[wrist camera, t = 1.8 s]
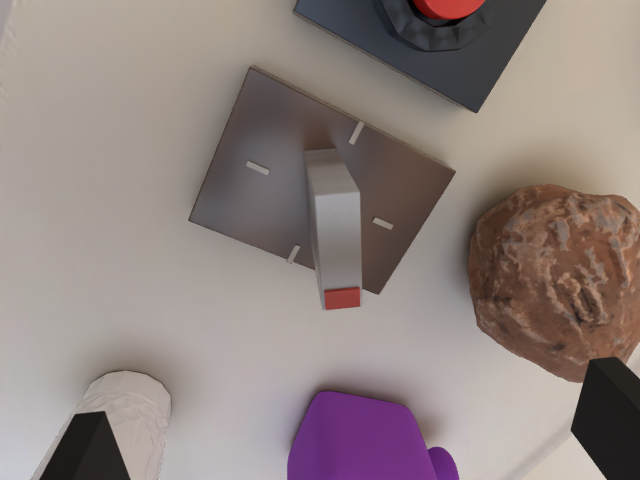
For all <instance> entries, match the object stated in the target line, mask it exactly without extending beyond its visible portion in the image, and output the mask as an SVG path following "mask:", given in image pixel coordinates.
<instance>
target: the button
mask: <svg viewBox="0 0 640 480" xmlns="http://www.w3.org/2000/svg"><path fill="white" fill-rule="evenodd" d="M484 1H485V0H413V2H414V4H415V6H416V7H417V8H418V10H419V11H420V12H421V13H422V14H424V15H425V16H427V17H429V18H431V19H435V20H449V19H458V18H462V17H465V16H467V15H469V14H471V13H473V12H474V11H475V10H477V9H478V8H479V7H480V6H481V5H482V4H483V2H484Z"/></svg>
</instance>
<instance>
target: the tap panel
mask: <svg viewBox="0 0 640 480" xmlns="http://www.w3.org/2000/svg"><path fill="white" fill-rule="evenodd" d="M333 148H336V149H337V151H338V152H339V154H340V156H341V158H342V160H343V162H344V164H345V165H346V167H347V169H348V171H349V173H350V175H351V177H352V179H353V180H354V182H355V184H356V186H357V188H358V190H359V192H360V217H361V263H362V289H365V290H367V291H370V292H372V293H375V294H377V295H379V294H380V292H381V291H382V289H383V287H384V286H385V284H386V283H387V281H388V280H389V278H390V276H391V275H392V273H393V272H394V270H395V268H396V267H397V265H398V264H399V262H400V260H401V259H402V257H403V256H404V254H405V252H406V251H407V249H408V248H409V246H410V245H411V243H412V241H413V240H414V238H415V237H416V235H417V233H418V232H419V230H420V229H421V227H422V225H423V224H424V222H425V221H426V219H427V218H428V216H429V214H430V213H431V211H432V210H433V208H434V206H435V205H436V203H437V202H438V200H439V198H440V197H441V195H442V194H443V192H444V190H445V189H446V187H447V186H448V184H449V183H450V181H451V179H452V178H453V176H454V175H455V173H456V171H455V170H453V169H452V168H451V167H449V166H448V165H447V164H445V163H444V162H442V161H440V160H438V159H436V158H434V157H432V156H430V155H428V154H426V153H424V152H422V151H420V150H418V149H416V148H414V147H412V146H410V145H408V144H406V143H404V142H402V141H400V140H398V139H397V138H395V137H393V136H391V135H389V134H387V133H385V132H383V131H381V130H379V129H377V128H375V127H373V126H371V125H369V124H367V123H365V122H363V121H361V120H359V119H357V118H355V117H353V116H351V115H349V114H347V113H346V112H344V111H342V110H340V109H338V108H336V107H334V106H332V105H330V104H328V103H326V102H324V101H322V100H320V99H318V98H316V97H314V96H312V95H310V94H308V93H306V92H304V91H302V90H300V89H298V88H297V87H295V86H293V85H291V84H289V83H287V82H285V81H283V80H281V79H279V78H277V77H275V76H273V75H271V74H269V73H267V72H265V71H263V70H261V69H259V68H257V67H255V66H253V65H251V66H250V68H249V70H248V72H247V75H246V77H245V80H244V82H243V85H242V87H241V90H240V92H239V95H238V97H237V100H236V102H235V105H234V107H233V110H232V112H231V115H230V117H229V120H228V122H227V124H226V127H225V129H224V132H223V134H222V137H221V139H220V142H219V144H218V147H217V149H216V152H215V154H214V157H213V159H212V162H211V164H210V167H209V169H208V172H207V174H206V177H205V179H204V182H203V184H202V187H201V189H200V192H199V194H198V197H197V199H196V202H195V204H194V207H193V209H192V212H191V214H190V217H189V219H188V220H189V221H190V222H193V223H196V224H198V225H201V226H203V227H206V228H208V229H211V230H213V231H216V232H219V233H221V234H224V235H226V236H229V237H231V238H234V239H237V240H239V241H242V242H244V243H247V244H249V245H252V246H254V247H257V248H260V249H262V250H265V251H267V252H270V253H272V254H275V255H278V256H280V257H283V258H285V259H287V262H288V263H290V264H292V262H295V263H298V264H301V265H303V266H306V267H308V268H311V269H313V270H315V264H314V258H313V252H312V246H311V240H310V228H309V215H308V202H307V189H306V177H305V164H304V151H309V150H321V149H333Z"/></svg>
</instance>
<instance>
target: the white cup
mask: <svg viewBox="0 0 640 480" xmlns="http://www.w3.org/2000/svg"><path fill="white" fill-rule="evenodd" d="M98 411H105V412H106V415H107V418H108V420H109V423H110V426H111V428H112V431H113V434H114V436H115V439H116V442H117V444H118V447H119V450H120V452H121V455H122V458H123V460H124V463H125V466H126V468H127V471H128V474H129V476H130V479H131V480H158V478H159V474H160V469H161V464H162V459H163V453H164V447H165V443H166V437H167V427H168V423H169V418H170V414H171V396H170V395H169V393H168V392H167V391H166V389H165V388H164V386H163V385H162V384H161V383H160V382H158V381H157V380H155V379H153V378H151V377H150V376H148V375H146V374H142V373H137V372H132V371H120V372H113V373H107V374H105V375H103V376H102V377H100V378H99V379H97V380H95V381H94V382H92V383H91V384H90V386H89V388H88V390H87V391H86V393H85V395H84V396H83V398H82V400H81V401H80V403H79V404H78V406H77V407H76V409H75V410H74V411H73V412H72V413H71V414H70V416H69V418H68V419H67V421H66V422H65V424H64V425H63V427H62V428H61V430H60V431H59V433H58V434H57V436H56V438H55V439H54V441H53V443H52V444H51V446H50V448H49V449H48V451H47V453H46V454H45V456H44V457H43V459H42V461H41V462H40V464H39V466H38V467H37V469H36V471H35V472H34V474H33V476H32V477H31V479H30V480H39V479H40V477H41V475H42V473H43V471H44V470H45V468H46V466H47V464H48V462H49V460H50V459H51V457H52V455H53V453H54V451H55V449H56V448H57V446H58V444H59V442H60V440H61V438H62V437H63V435H64V433H65V431H66V429H67V427H68V426H69V424H70V422H71V420H72V418H73V416H74V415H75V414H79V413H88V412H98Z"/></svg>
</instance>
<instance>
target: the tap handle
mask: <svg viewBox="0 0 640 480" xmlns="http://www.w3.org/2000/svg"><path fill="white" fill-rule="evenodd" d="M304 164H305V177H306V189H307V202H308V215H309V228H310V240H311V246H312V252H313V258H314V264H315V270H316V276H317V282H318V288H319V293H320V299H321V305H322V309H323V310H332V309H341V308H351V307H361V306H362V263H361V217H360V192H359V190H358V188H357V186H356V184H355V182H354V180H353V179H352V177H351V175H350V173H349V171H348V169H347V167H346V165H345V164H344V162H343V160H342V158H341V156H340V154H339V152H338V151H337V149H336V148H333V149H321V150H309V151H304Z"/></svg>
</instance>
